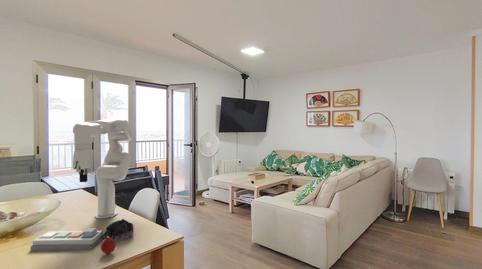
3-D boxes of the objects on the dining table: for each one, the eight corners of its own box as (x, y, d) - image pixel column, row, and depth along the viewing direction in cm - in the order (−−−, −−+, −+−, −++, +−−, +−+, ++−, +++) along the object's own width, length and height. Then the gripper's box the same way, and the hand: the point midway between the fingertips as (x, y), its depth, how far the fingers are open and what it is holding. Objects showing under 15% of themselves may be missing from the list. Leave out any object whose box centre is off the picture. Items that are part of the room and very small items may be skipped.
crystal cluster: (106, 234, 132) (104, 216, 131) (134, 228, 137) (132, 211, 136) (103, 247, 120) (101, 228, 119) (134, 240, 125) (132, 221, 124)
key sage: (61, 237, 122) (61, 232, 122) (70, 237, 122) (70, 232, 122) (55, 241, 118) (55, 236, 118) (64, 241, 118) (64, 236, 118)
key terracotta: (74, 237, 122) (74, 232, 122) (83, 237, 123) (83, 232, 123) (69, 241, 118) (69, 235, 118) (78, 241, 118) (78, 235, 118)
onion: (118, 250, 114) (118, 233, 113) (112, 257, 108) (111, 239, 108) (105, 251, 113) (104, 233, 113) (98, 257, 108) (98, 239, 107)
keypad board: (50, 238, 126) (50, 230, 126) (104, 237, 127) (104, 229, 127) (30, 250, 113) (30, 241, 113) (90, 249, 114) (90, 240, 114)
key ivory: (47, 237, 122) (47, 232, 122) (56, 237, 122) (56, 232, 122) (41, 241, 117) (41, 236, 117) (50, 241, 118) (50, 236, 118)
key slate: (87, 233, 123) (87, 228, 123) (96, 233, 123) (96, 228, 123) (82, 236, 118) (82, 231, 118) (91, 236, 119) (91, 231, 119)
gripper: (83, 145, 140) (84, 178, 141) (66, 148, 125) (67, 185, 126) (97, 146, 140) (98, 178, 141) (82, 148, 125) (82, 185, 126)
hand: (83, 181), depth 133 cm, fingers closed
